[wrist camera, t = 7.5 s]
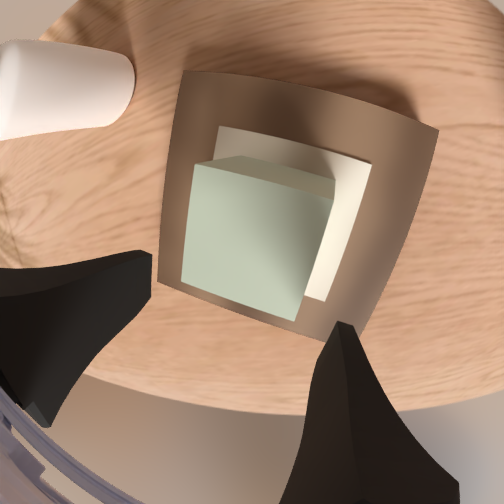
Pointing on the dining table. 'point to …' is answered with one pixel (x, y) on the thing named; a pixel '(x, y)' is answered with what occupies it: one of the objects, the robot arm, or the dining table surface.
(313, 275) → the base
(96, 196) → the dining table surface
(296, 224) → the cube
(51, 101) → the can
